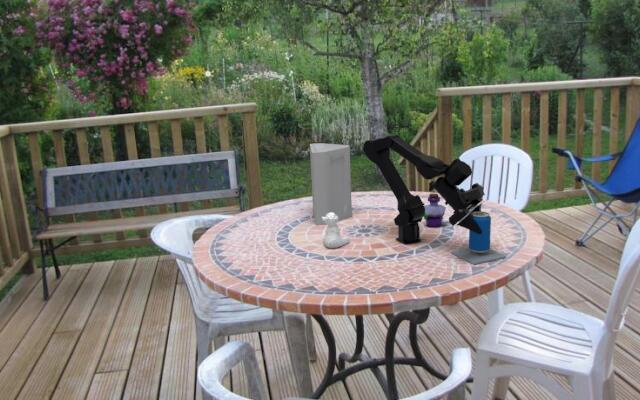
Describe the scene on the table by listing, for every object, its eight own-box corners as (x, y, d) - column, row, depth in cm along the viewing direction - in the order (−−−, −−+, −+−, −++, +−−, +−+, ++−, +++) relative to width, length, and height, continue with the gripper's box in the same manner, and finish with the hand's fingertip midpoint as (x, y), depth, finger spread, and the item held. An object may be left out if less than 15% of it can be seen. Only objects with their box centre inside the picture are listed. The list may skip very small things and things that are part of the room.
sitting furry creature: (350, 242, 221) (349, 208, 218) (344, 250, 213) (343, 216, 210) (324, 240, 223) (322, 208, 220) (317, 249, 215) (315, 215, 212)
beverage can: (486, 246, 206) (487, 210, 203) (492, 253, 200) (493, 216, 196) (466, 247, 206) (467, 211, 202) (471, 254, 199) (472, 217, 196)
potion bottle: (417, 225, 235) (416, 194, 232) (432, 220, 240) (432, 189, 237) (435, 230, 229) (435, 198, 226) (450, 225, 234) (450, 193, 231)
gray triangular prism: (354, 223, 242) (352, 150, 235) (315, 225, 241) (312, 152, 234) (349, 209, 260) (346, 141, 253) (313, 211, 260) (309, 143, 252)
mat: (474, 265, 194) (474, 263, 194) (451, 253, 205) (451, 251, 205) (505, 258, 199) (506, 256, 199) (481, 247, 210) (481, 245, 209)
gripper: (459, 184, 190) (495, 223, 188) (477, 170, 206) (510, 207, 204) (434, 206, 196) (468, 245, 194) (453, 192, 212) (485, 227, 210)
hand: (484, 230), depth 200 cm, fingers closed on beverage can, 6 cm apart
